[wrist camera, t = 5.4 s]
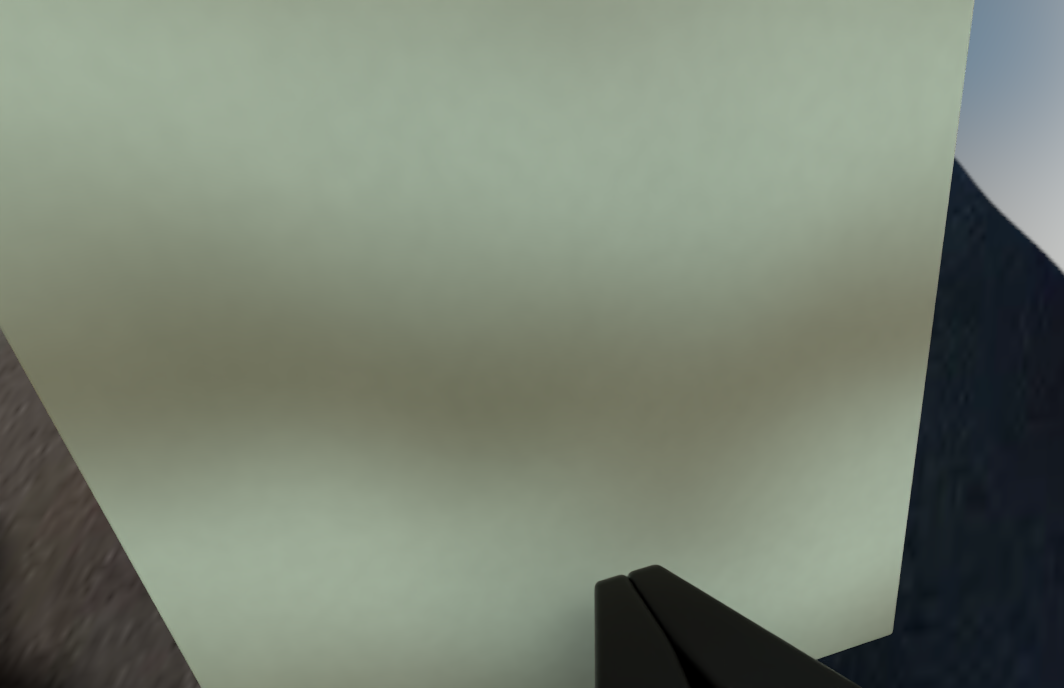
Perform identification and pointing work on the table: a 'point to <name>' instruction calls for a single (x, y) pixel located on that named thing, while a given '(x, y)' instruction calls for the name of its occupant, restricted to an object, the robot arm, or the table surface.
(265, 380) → the box lid
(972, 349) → the table surface
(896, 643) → the table surface
